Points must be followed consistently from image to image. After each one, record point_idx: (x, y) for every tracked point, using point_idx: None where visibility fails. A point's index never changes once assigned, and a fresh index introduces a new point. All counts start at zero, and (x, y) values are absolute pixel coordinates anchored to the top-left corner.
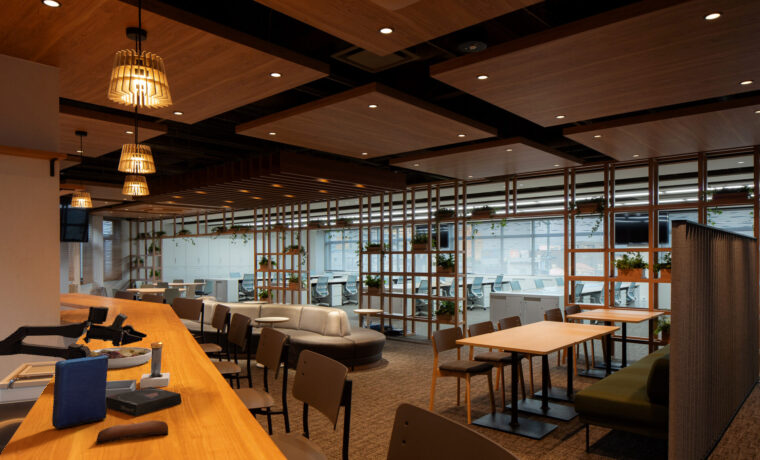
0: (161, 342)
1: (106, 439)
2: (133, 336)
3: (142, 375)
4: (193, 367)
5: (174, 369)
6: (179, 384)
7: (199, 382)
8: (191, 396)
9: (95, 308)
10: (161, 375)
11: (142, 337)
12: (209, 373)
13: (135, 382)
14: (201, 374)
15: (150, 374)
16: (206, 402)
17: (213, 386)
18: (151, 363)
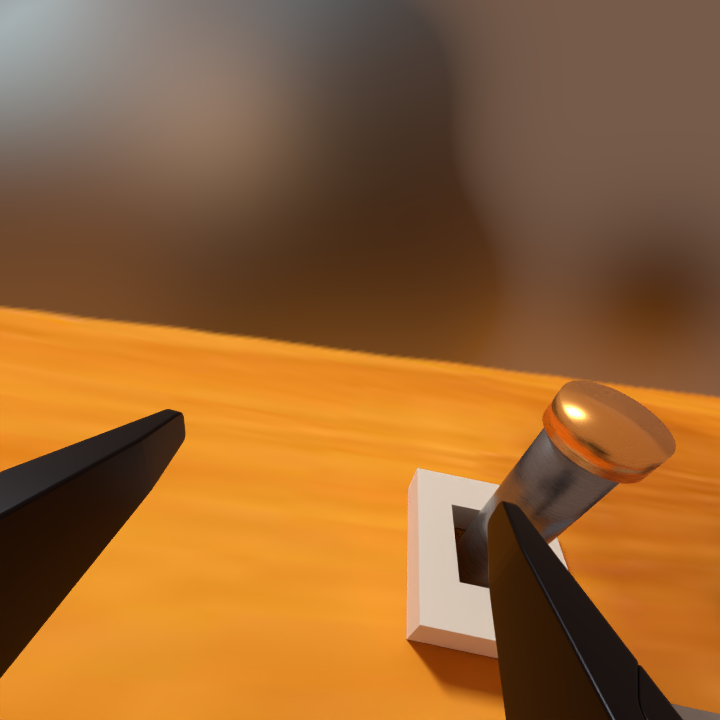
0: (568, 385)
1: None
2: (640, 674)
3: (464, 633)
4: (205, 371)
5: None
6: (493, 467)
7: (469, 408)
8: (661, 465)
9: None
10: (450, 513)
11: (154, 484)
12: (343, 360)
13: (687, 710)
14: (348, 378)
15: (442, 572)
16: (712, 444)
17: (525, 391)
18: (550, 540)
